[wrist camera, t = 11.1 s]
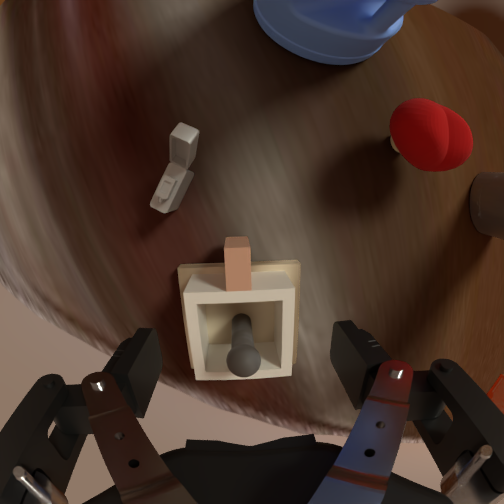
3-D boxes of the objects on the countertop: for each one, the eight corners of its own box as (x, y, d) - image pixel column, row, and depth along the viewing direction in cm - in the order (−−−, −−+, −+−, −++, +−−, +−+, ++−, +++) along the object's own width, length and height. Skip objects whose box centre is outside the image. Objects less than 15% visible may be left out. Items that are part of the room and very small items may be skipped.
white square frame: (284, 234, 26) (295, 245, 21) (283, 348, 29) (291, 375, 24) (189, 238, 25) (178, 250, 21) (201, 352, 28) (196, 379, 23)
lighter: (176, 210, 26) (153, 218, 18) (161, 203, 26) (133, 208, 18) (209, 146, 25) (198, 128, 17) (193, 139, 25) (177, 119, 17)
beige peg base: (297, 259, 28) (327, 294, 18) (293, 356, 31) (313, 413, 21) (180, 264, 27) (154, 301, 18) (192, 361, 30) (180, 420, 20)
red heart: (424, 124, 25) (480, 110, 16) (425, 178, 27) (484, 180, 17) (360, 105, 25) (410, 76, 15) (360, 165, 26) (415, 158, 17)
